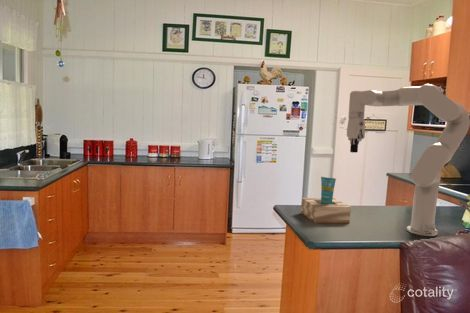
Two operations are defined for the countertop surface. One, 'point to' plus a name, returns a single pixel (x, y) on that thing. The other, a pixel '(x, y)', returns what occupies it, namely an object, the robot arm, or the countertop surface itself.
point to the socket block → (325, 211)
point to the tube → (327, 190)
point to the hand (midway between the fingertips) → (353, 152)
